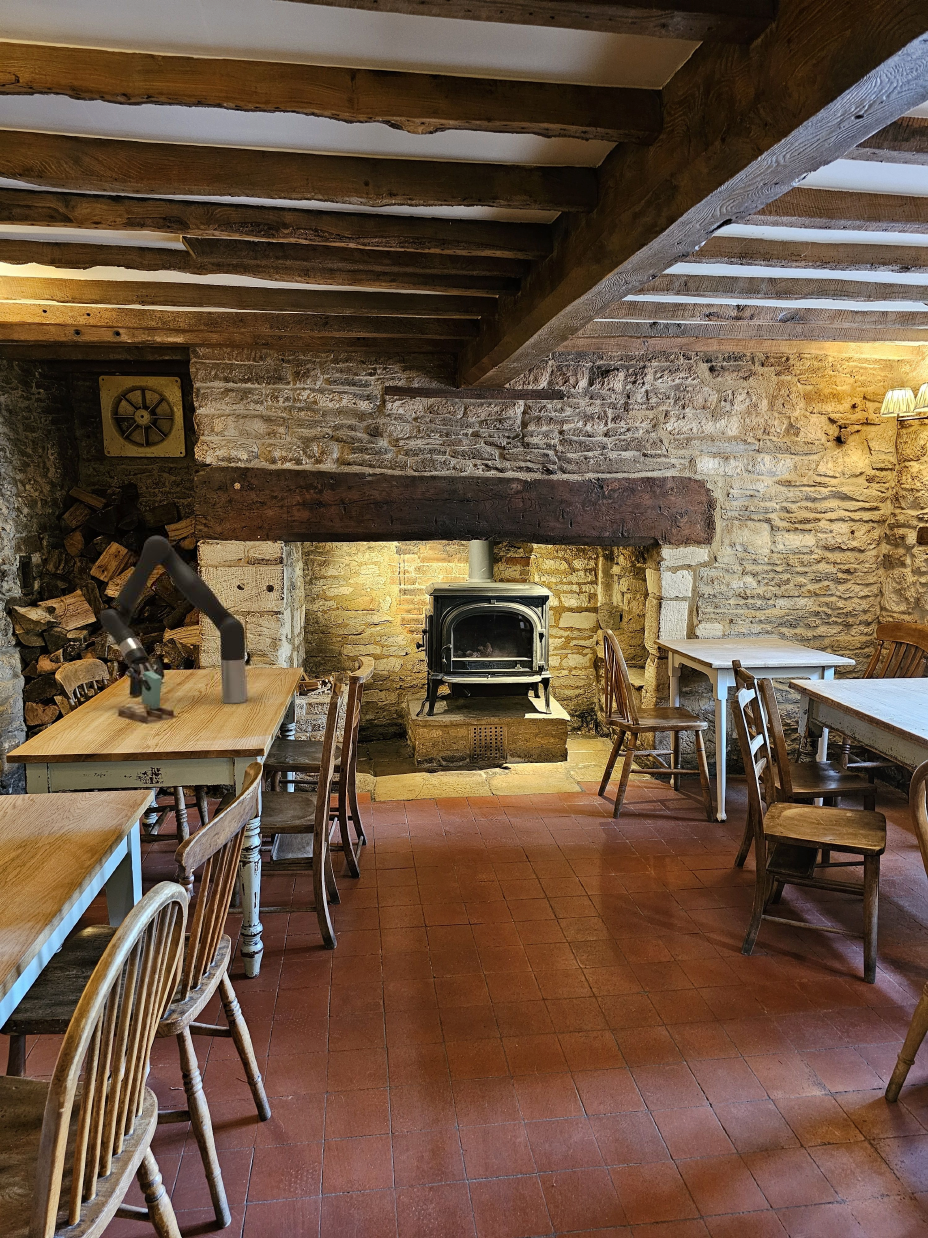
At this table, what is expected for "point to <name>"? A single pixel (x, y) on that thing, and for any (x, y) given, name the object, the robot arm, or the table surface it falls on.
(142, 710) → the offcut stack
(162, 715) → the walnut rack
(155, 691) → the teal board
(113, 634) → the robot arm
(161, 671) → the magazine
